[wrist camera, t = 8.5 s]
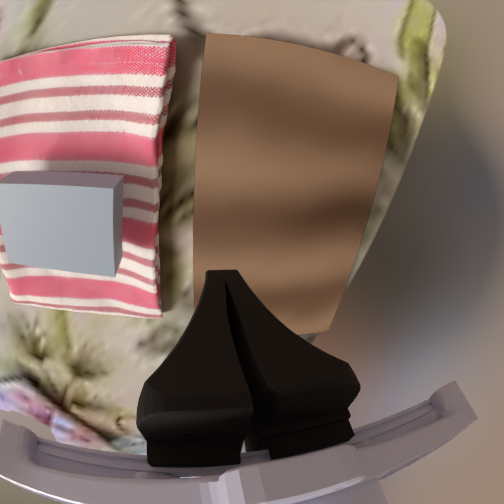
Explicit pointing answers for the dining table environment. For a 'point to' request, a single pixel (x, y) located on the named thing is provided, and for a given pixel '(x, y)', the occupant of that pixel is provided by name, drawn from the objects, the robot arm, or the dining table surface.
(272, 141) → the board
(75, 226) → the blue-grey tile
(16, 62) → the dish towel
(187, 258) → the dining table surface
